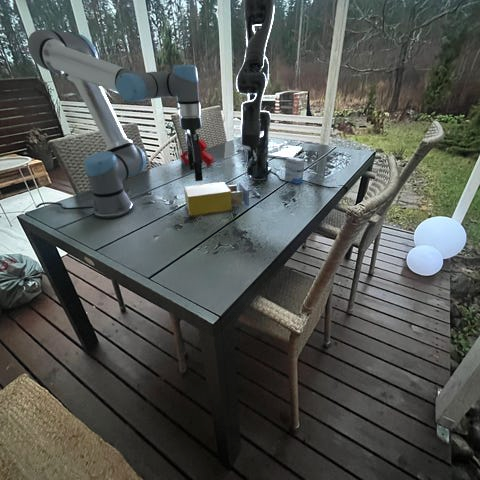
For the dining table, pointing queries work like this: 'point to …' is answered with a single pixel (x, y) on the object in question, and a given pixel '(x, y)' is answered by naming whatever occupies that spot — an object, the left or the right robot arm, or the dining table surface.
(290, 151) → the relief map
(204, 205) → the yellow rectangular box
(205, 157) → the toy gun
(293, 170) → the ink box
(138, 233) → the dining table surface
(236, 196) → the drawer
